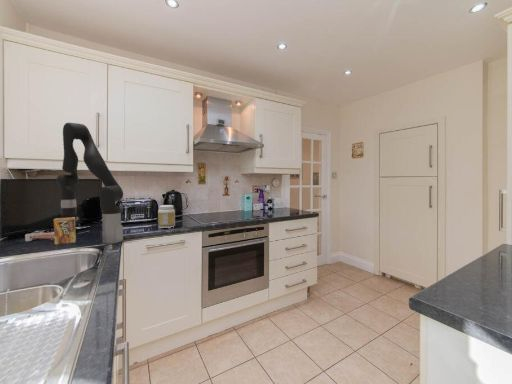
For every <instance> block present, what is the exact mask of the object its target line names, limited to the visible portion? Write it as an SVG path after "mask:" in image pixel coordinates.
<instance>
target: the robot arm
mask: <svg viewBox="0 0 512 384" xmlns="http://www.w3.org/2000/svg"><path fill="white" fill-rule="evenodd" d="M75 140H80V141H81V143H82V145H83V147H84V153H83V159H82V160H83V162H84V164H85V166H86V168H87V169H88V171H89V172H90V173H91V174H92V175H94V176H95V177H96V178H97V179H98V180H99V181H100V182H102V184H103V185H104V186H103V187H102V188H100V190H99V205H100V206H99V208H100V210H101V212H102V213H101V214H102V218H101V219H102V243H103V244H106V245H109V244H118V243H119V242H123V241H124V227H123V224H122V214H121V213H122V212H121V211H122V209H121V207H119V206H117V203H116V202H118V201H121V200H122V199H123V197H124V190H123V189H122V187H121V185H119V183H118V182H117V180H116V178H114V177H115V176H113V174H112V173H111V171H110V169H109V167H108V166H107V163H106V162H105V160H104V158H103V157H102V154H101V153H100V151H99V149H98V148H97V146H96V143H95V142H94V141H95V140H94V139H93V137H92V134H91V132H90V130H89V128H88V127H87V126H86V125H85V124H83V123H77V122H76V123H75V122H66V123H64V125H63V127H62V141H63V160H62V166H61V167H62V168H61V169H62V171H63V172H65V173H69V174H59V175H58V176H56V183H57V186H58V188H59V191H60V197H61V199H60V215H61V217H60V218H72V217H75V227H77V226H78V224H79V223H80V222H81V221H82V218H81V217H78V215H77V213H78V212H77V211H78V210H77V209H78V208H77V199H76V197H77V196H76V191H75V190H74V189H69V188H67V187H76V186H77V185H78V184H79V183H80V180H79V176H78V164H79V158H78V157H79V156H78V154H77V152H76V151H75V150H76V149H74V141H75Z"/></svg>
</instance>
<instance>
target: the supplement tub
mask: <svg viewBox="0 0 512 384" xmlns="http://www.w3.org/2000/svg"><path fill="white" fill-rule="evenodd" d="M158 206H159V207H158V210H157V216H158V219H157V222H158V224H157V226H158V229H161V228H168V229H172V228H171V227H173V228H175V227H176V211H175V209H174V208H175V207H174V204H173V205H172V204H164V205H163V204H162V205H158ZM174 226H175V227H174Z"/></svg>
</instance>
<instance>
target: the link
mask: <svg viewBox="0 0 512 384" xmlns="http://www.w3.org/2000/svg"><path fill="white" fill-rule="evenodd" d="M39 233H43V235H37V236H32V239H54V232H43V231H40V232H39ZM30 234H34V232H31V233H30ZM54 240H55V239H54Z"/></svg>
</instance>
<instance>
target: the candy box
mask: <svg viewBox="0 0 512 384" xmlns="http://www.w3.org/2000/svg"><path fill="white" fill-rule="evenodd" d="M76 230H77V229H76V226H75V217H72V218H61V217H59V218H57V217H56V218H54V219H53V233H54V245H64V244H72V243H74V244H73V246H75V245H76V242H77V234H76Z"/></svg>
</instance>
